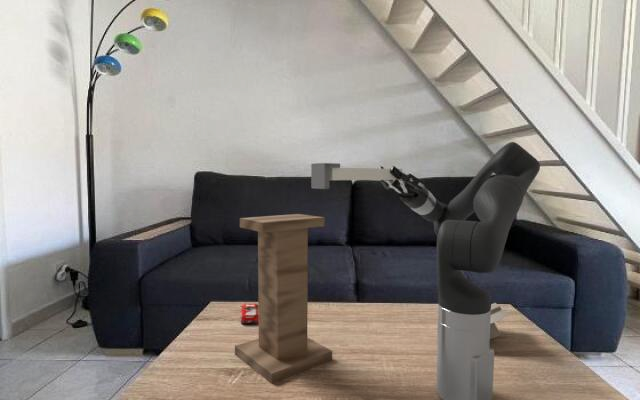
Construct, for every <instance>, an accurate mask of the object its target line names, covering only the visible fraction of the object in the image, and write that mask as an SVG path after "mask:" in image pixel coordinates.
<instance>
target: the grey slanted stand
mask: <svg viewBox="0 0 640 400" xmlns="http://www.w3.org/2000/svg"><path fill="white" fill-rule="evenodd" d="M511 315H512V313H510V312H509V311H507V310H506V309H502V308H501V306H500V305H499V304H497V303H496V302H494V303H491V321H490V340H492V339H494V338H497V337H498V336H501V333H500V330H499V329H498V327H497V325H496V324H495V323H496V322H497V321H500V320H502V319H504V318H506V317H509V316H511Z"/></svg>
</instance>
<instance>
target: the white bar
mask: <svg viewBox="0 0 640 400" xmlns="http://www.w3.org/2000/svg"><path fill="white" fill-rule="evenodd" d="M310 169H311V179H310V181H311V183H310V184H311V187H310V188H311V189H315V190H316V189H317V190H318V189H320V190H328V189H330V181H380V180H399V179H396V178H395V177H394V176H393V175H392V174H391V173H390V170H391V168H384V169H379V167H377V168H373V167H372V168H371V167H370V168H367V167H365V168H364V167H341V163H337V162H336V163H331V162H328V163H327V162H324V163H323V162H321V163H319V162H318V163H311V168H310ZM398 169H399V170H400V171H401V172H403V169H404V168H398Z"/></svg>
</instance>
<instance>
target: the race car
mask: <svg viewBox="0 0 640 400" xmlns="http://www.w3.org/2000/svg"><path fill="white" fill-rule="evenodd" d="M240 307H241V309H240V310H241V311H240V323H241V324H257V323H259V317H258V304H257V303H253V302H251V303H249V302H247V303H244V304H242V305H241V306H240Z"/></svg>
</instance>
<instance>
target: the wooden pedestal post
mask: <svg viewBox="0 0 640 400" xmlns="http://www.w3.org/2000/svg"><path fill="white" fill-rule="evenodd" d="M318 227H319V228H320V227H321V228H322V227H325V217H324V216H317V215H316V216H315V215H309V214H302V213H291V214H282V215H281V214H280V215H278V214H277V215H266V216H265V215H264V216H263V215H262V216H251V217H240V218H239V228H241V229H246V230H251V231H255V232H257V260H258V261H257V267H258V268H257V278H258V279H257V280H258V281H257V284H258V285H257V286H258V290H257V291H258V292H257V294H258V296H257V297H258V300H257V301H258V317H259V322H258V338H256V339H253V340H250V341H247V342H244V343H239V344H237V345H234V355H235V356H236V357H238V358H239V359H240V360H241V361H243V362H244V363H246V364H247V365H248V366H249V367H250V368H251V369H253V370H254V371H255V372H257V373H258V374H260V375H261V376H262V377H263V378H265V380H267V381H268V382H269V383H271V384H273V383H276V382H278V381H281V380H283V379H285V378H288V377H291V376H293V375H297V374H299V373H301V372H304V371H306V370H307V371H308V370H310V369H311V368H314V367H317V366H320V365H323V364H325V363H327V362H329V361H332V360H333V350H331V349H330V348H327V347H326V346H324V345H322V344H321V343H318V342H317V341H315V340H313V339H311V338H310V337H308V307H309V305H308V303H309V302H308V291H309V290H308V287H309V286H308V283H309V281H308V276H309V274H308V272H309V271H308V270H309V269H308V268H309V266H308V262H309V261H308V259H309V258H308V255H309V254H308V249H309V246H308V245H309V244H308V243H309V241H308V239H309V237H308V236H309V234H308V233H309V232H308V231H309V230H308V229H309V228H310V229H311V228H318Z"/></svg>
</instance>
